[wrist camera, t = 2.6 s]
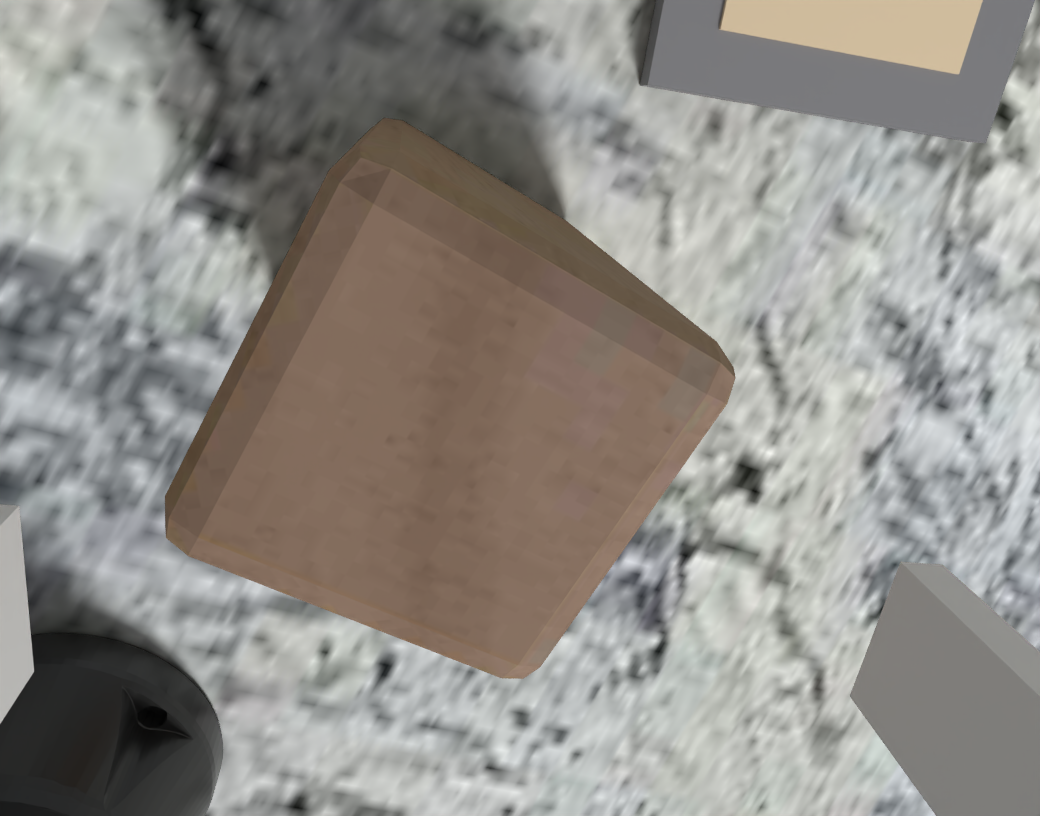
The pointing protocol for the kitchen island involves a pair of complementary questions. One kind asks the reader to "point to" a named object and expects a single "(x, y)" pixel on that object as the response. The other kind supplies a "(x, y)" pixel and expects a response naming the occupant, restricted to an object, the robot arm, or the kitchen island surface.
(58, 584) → the kitchen island surface
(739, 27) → the board
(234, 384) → the wooden block
